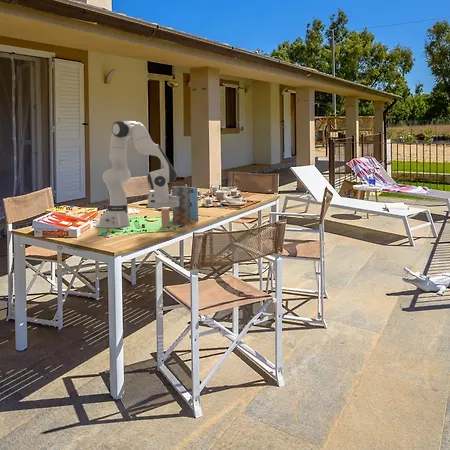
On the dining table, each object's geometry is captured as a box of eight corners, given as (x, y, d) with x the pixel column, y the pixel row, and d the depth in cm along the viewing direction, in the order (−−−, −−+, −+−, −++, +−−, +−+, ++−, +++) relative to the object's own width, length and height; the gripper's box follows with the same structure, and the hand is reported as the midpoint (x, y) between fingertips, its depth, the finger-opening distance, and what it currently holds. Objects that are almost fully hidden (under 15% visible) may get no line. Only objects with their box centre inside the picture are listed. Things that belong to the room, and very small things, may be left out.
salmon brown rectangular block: (161, 226, 336) (161, 209, 334) (162, 225, 340) (161, 208, 338) (169, 226, 336) (168, 209, 334) (169, 225, 340) (169, 208, 338)
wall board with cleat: (172, 224, 343) (171, 188, 338) (173, 222, 352) (172, 186, 347) (189, 224, 343) (189, 188, 338) (190, 222, 352) (189, 186, 347)
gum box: (198, 218, 364) (197, 187, 360) (194, 220, 360) (193, 188, 356) (177, 216, 375) (176, 185, 371) (173, 217, 371) (172, 186, 367)
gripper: (178, 192, 319) (180, 205, 331) (146, 192, 319) (149, 205, 330) (178, 200, 316) (180, 213, 327) (145, 200, 315) (148, 213, 326)
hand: (164, 209), depth 328 cm, fingers open, 8 cm apart
